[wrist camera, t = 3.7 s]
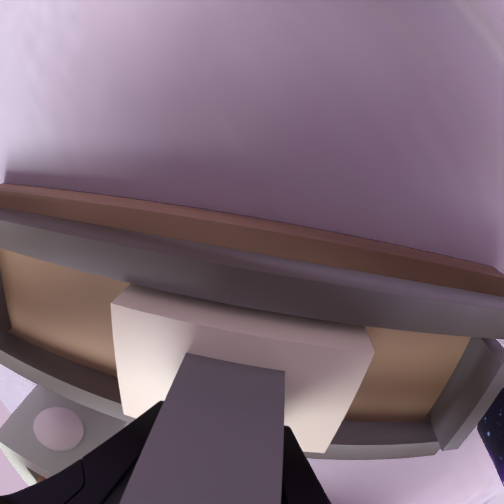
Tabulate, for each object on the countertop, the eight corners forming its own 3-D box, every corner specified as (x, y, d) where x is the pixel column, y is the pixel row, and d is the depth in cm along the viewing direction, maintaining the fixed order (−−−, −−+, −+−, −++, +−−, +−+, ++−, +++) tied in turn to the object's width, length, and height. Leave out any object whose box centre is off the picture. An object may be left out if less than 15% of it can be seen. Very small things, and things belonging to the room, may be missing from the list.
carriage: (321, 417, 12) (330, 588, 4) (140, 383, 12) (61, 532, 5) (361, 318, 10) (432, 536, 3) (136, 278, 11) (-18, 443, 3)
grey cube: (138, 464, 18) (112, 526, 12) (60, 432, 18) (26, 483, 12) (128, 413, 16) (88, 489, 10) (39, 377, 16) (-10, 432, 10)
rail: (413, 425, 14) (431, 477, 10) (24, 344, 15) (-12, 379, 11) (492, 266, 11) (544, 305, 7) (3, 183, 12) (-54, 199, 8)
